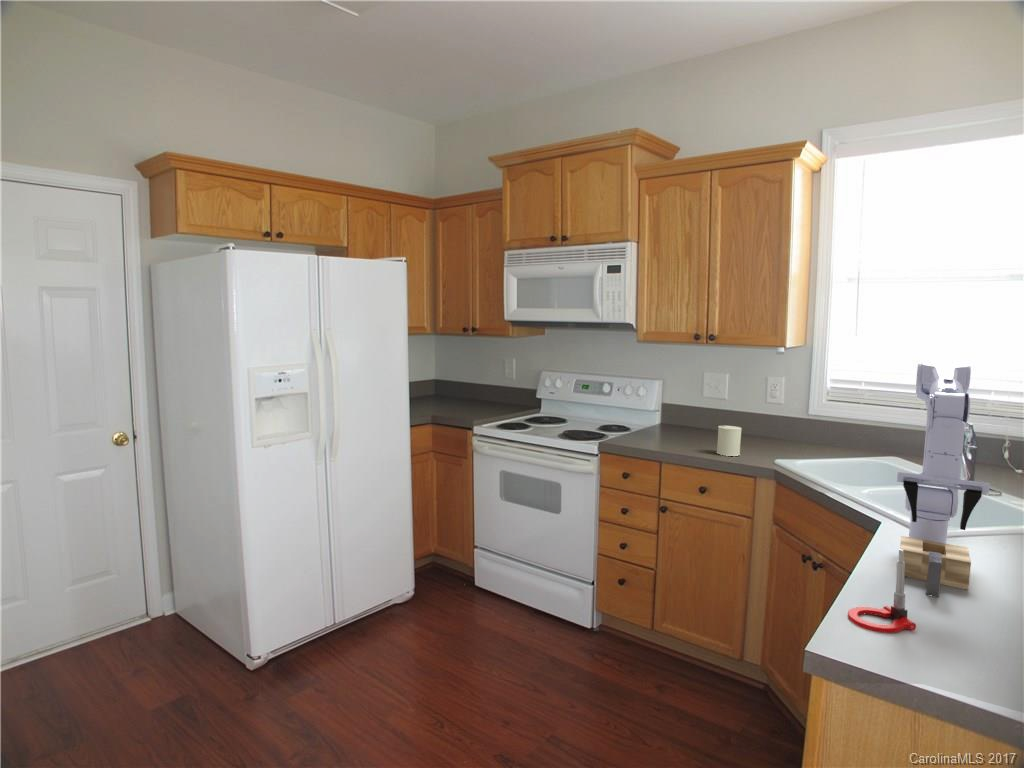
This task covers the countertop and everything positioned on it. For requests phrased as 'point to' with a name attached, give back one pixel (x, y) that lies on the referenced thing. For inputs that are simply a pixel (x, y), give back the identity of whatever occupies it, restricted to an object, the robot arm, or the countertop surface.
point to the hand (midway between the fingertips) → (938, 525)
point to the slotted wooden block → (953, 561)
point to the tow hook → (894, 612)
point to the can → (729, 440)
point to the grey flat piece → (933, 574)
